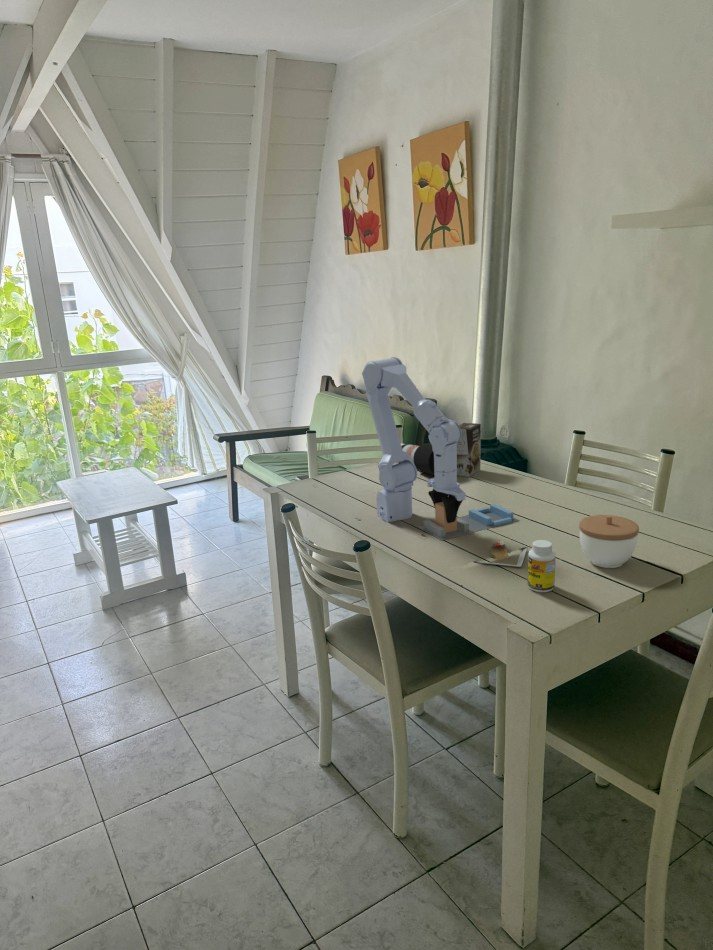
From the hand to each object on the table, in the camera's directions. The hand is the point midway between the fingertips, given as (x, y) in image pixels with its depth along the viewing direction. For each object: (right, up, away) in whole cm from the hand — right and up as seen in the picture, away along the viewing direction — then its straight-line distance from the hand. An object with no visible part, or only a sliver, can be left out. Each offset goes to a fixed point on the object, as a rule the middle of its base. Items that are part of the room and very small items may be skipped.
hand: (446, 519), depth 174 cm
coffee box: (+14, +12, +50) cm, 53 cm away
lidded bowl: (+34, -8, -20) cm, 41 cm away
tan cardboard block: (0, -3, +1) cm, 3 cm away
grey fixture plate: (+7, -2, +4) cm, 8 cm away
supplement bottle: (+16, -13, -31) cm, 37 cm away
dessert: (+11, -8, -14) cm, 20 cm away
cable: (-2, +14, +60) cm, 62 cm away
